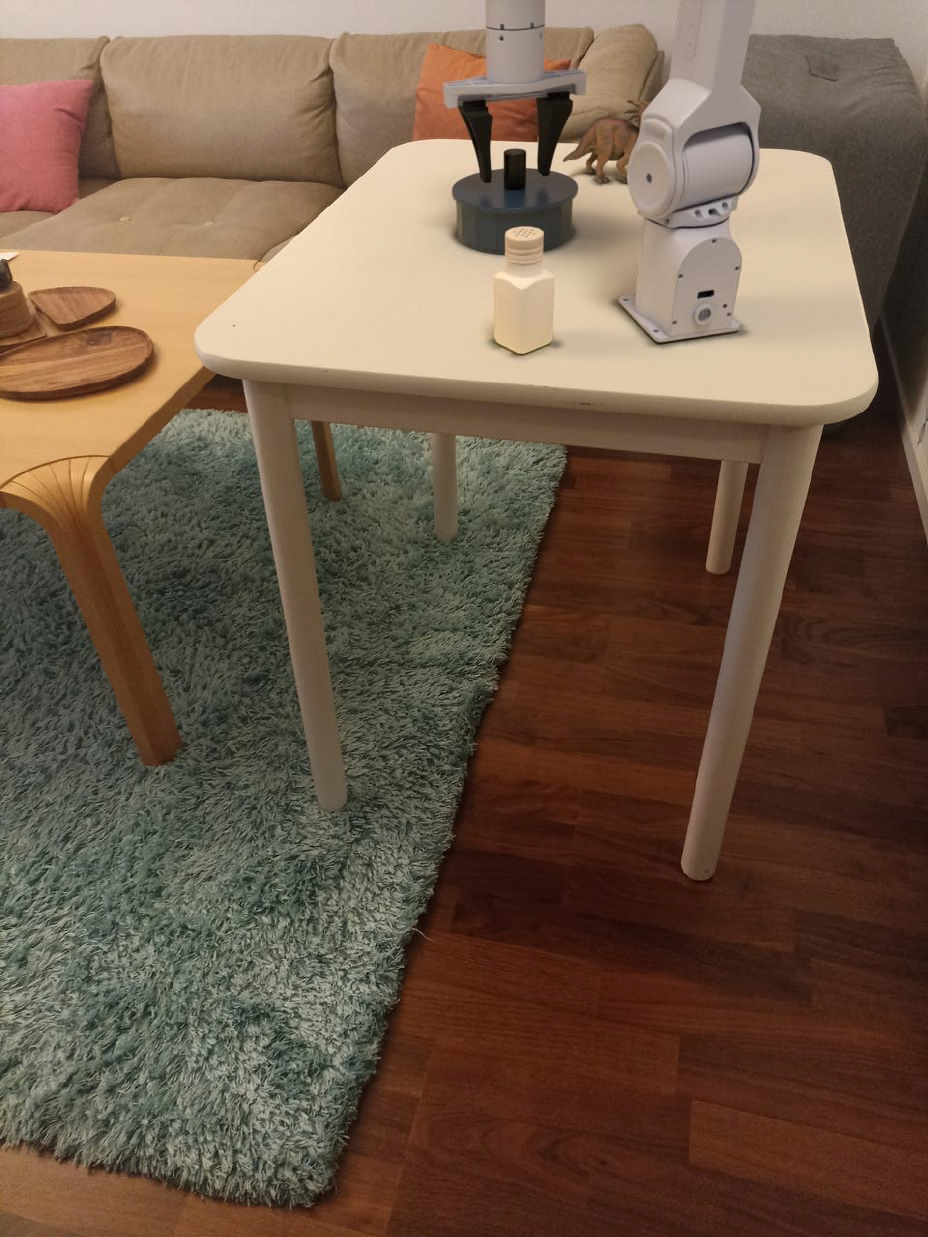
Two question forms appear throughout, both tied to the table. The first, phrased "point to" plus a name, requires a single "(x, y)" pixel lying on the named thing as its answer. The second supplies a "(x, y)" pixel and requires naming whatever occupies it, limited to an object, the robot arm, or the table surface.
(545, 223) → the pot
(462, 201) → the lid
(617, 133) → the dinosaur figurine
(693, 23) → the robot arm
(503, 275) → the salt shaker
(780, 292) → the table surface
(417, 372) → the table surface
